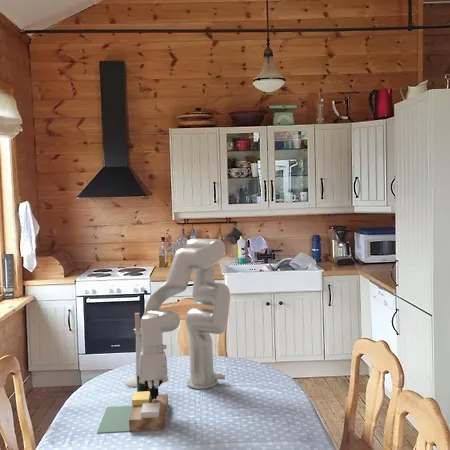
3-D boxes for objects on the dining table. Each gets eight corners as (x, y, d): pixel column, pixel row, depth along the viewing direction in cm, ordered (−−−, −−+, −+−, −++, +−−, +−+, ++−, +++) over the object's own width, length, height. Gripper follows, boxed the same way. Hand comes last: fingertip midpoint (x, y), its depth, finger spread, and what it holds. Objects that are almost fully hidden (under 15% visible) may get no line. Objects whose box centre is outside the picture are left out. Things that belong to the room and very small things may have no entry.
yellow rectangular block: (150, 396, 219) (150, 391, 219) (148, 404, 211) (148, 399, 211) (134, 397, 219) (134, 391, 218) (132, 405, 211) (131, 400, 211)
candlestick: (120, 381, 248) (116, 312, 245) (147, 375, 255) (144, 307, 252) (132, 390, 237) (129, 317, 235) (161, 383, 244) (157, 312, 242)
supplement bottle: (151, 401, 224) (150, 371, 223) (134, 400, 226) (133, 370, 225) (157, 394, 231) (156, 365, 230) (140, 394, 232) (139, 364, 231)
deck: (168, 404, 221) (167, 394, 220) (165, 429, 199) (164, 418, 199) (136, 406, 220) (135, 395, 220) (129, 431, 198) (128, 420, 198)
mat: (139, 406, 220) (139, 405, 220) (132, 431, 198) (132, 430, 198) (107, 407, 220) (106, 407, 220) (96, 433, 198) (96, 432, 198)
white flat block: (160, 408, 207) (160, 402, 207) (158, 417, 199) (158, 411, 199) (143, 408, 207) (143, 403, 207) (141, 418, 199) (140, 412, 199)
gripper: (173, 344, 217) (175, 393, 219) (132, 347, 216) (135, 395, 218) (172, 350, 210) (174, 400, 211) (130, 353, 209) (132, 402, 210)
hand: (154, 397), depth 215 cm, fingers closed
